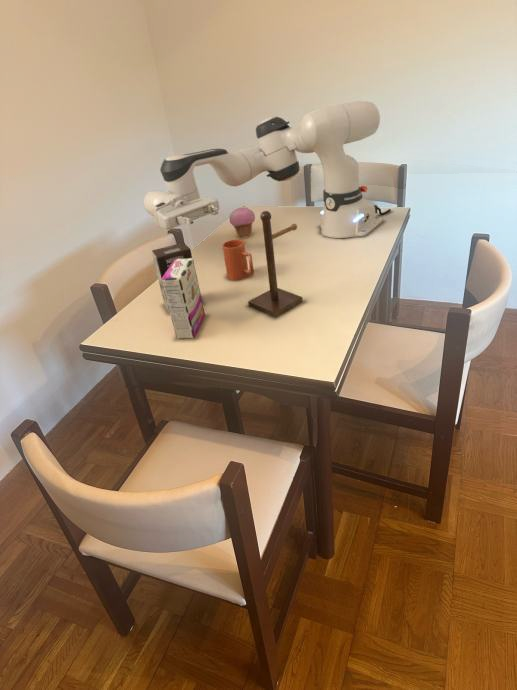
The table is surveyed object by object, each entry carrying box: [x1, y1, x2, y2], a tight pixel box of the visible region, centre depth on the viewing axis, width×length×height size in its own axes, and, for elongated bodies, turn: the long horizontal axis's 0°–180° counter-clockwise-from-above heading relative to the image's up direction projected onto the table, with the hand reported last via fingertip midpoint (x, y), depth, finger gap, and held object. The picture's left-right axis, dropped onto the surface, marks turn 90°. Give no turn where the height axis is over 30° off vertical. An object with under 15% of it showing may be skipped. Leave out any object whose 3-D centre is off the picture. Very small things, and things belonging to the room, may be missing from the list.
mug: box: [221, 239, 255, 281], centre depth 140 cm, size 10×6×10 cm, turn 43°
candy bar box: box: [161, 257, 207, 340], centre depth 117 cm, size 11×5×16 cm, turn 171°
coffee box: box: [151, 242, 193, 314], centre depth 128 cm, size 9×6×16 cm
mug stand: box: [247, 210, 303, 318], centre depth 121 cm, size 15×10×25 cm
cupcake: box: [228, 206, 256, 238], centre depth 168 cm, size 9×9×10 cm
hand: (203, 216), depth 143 cm, fingers open, 8 cm apart
